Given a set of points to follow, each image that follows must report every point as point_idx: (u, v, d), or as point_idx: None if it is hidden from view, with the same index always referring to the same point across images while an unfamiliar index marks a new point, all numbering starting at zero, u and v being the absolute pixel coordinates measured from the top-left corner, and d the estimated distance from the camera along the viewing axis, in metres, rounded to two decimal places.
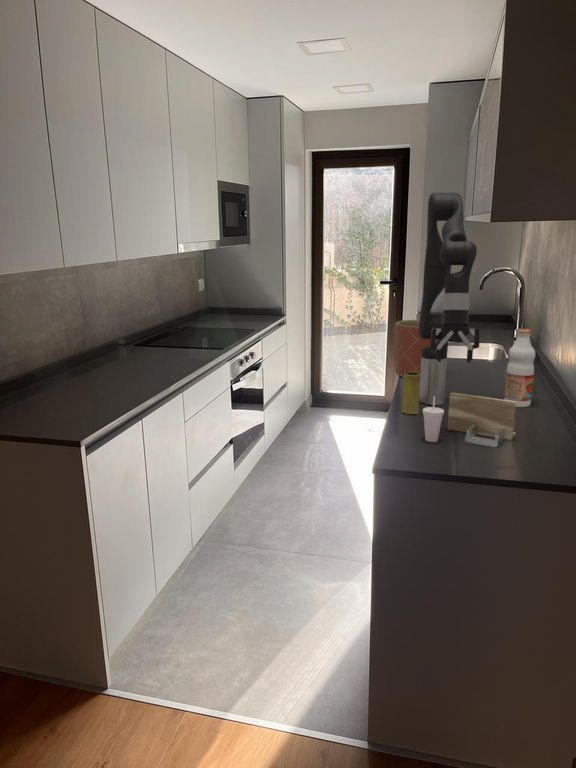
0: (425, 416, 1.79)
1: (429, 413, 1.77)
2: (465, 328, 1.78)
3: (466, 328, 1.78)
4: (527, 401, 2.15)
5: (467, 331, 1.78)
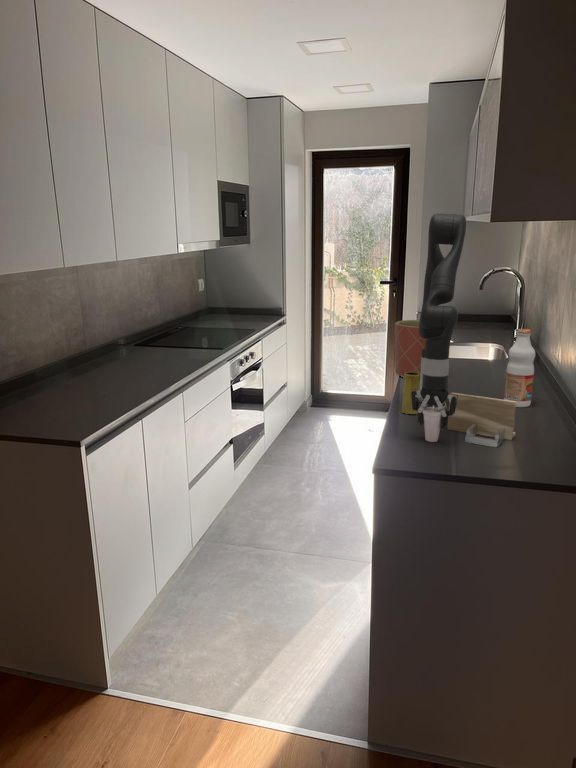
0: (425, 416, 1.79)
1: (429, 413, 1.77)
2: (443, 393, 1.76)
3: (444, 393, 1.76)
4: (527, 401, 2.15)
5: (444, 397, 1.76)
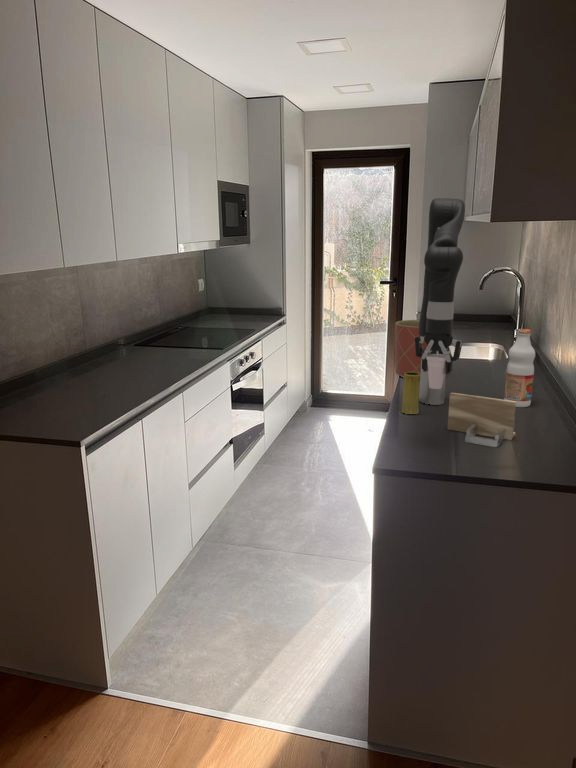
0: (429, 362, 1.75)
1: (433, 358, 1.73)
2: (447, 338, 1.72)
3: (448, 338, 1.72)
4: (527, 401, 2.15)
5: (448, 341, 1.72)
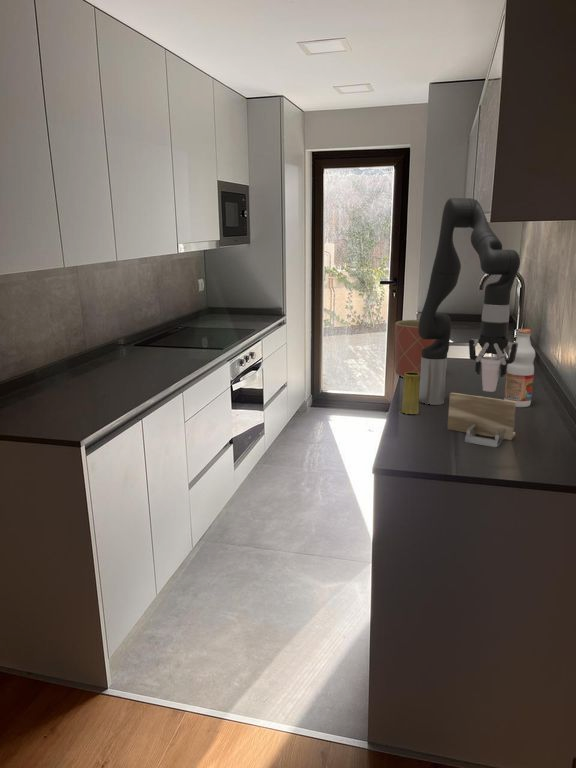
0: (483, 365, 1.75)
1: (488, 361, 1.73)
2: (503, 340, 1.72)
3: (504, 341, 1.72)
4: (527, 401, 2.15)
5: (504, 344, 1.72)
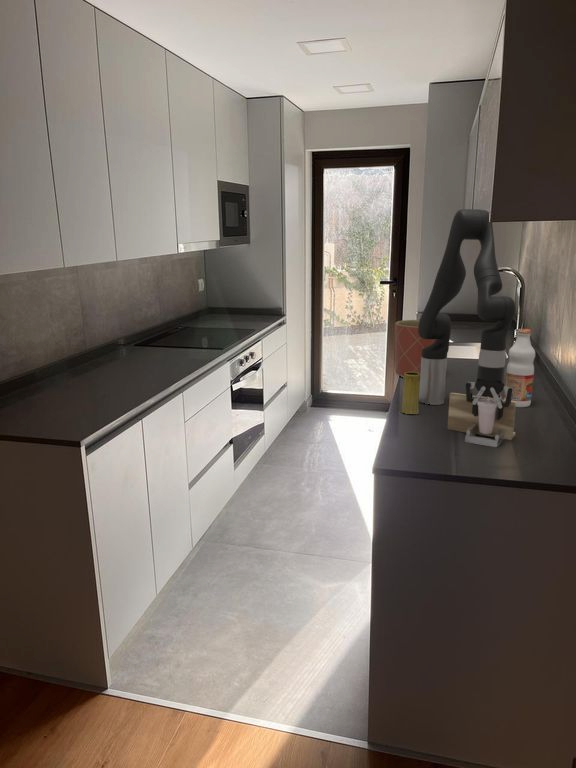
0: (480, 408, 1.78)
1: (485, 405, 1.77)
2: (499, 385, 1.75)
3: (500, 385, 1.75)
4: (527, 401, 2.15)
5: (500, 388, 1.75)
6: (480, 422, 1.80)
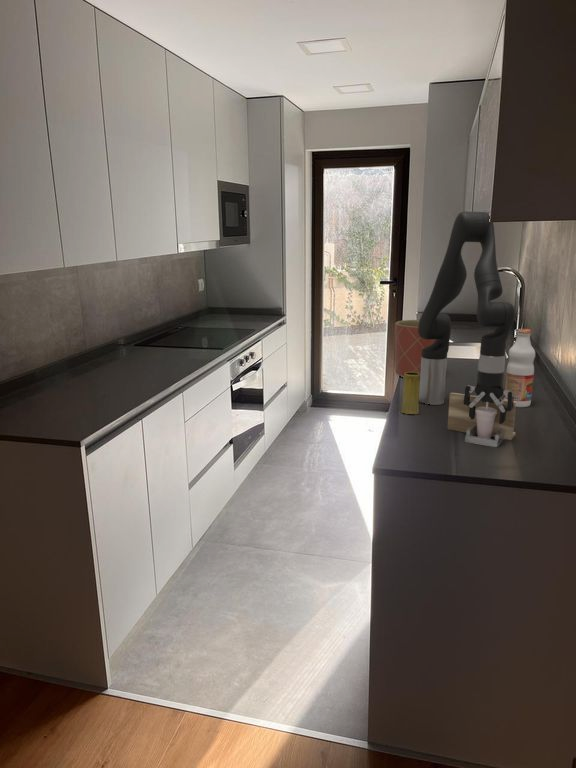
0: (478, 416, 1.79)
1: (483, 413, 1.77)
2: (498, 390, 1.76)
3: (499, 390, 1.75)
4: (527, 401, 2.15)
5: (500, 393, 1.75)
6: (478, 430, 1.81)
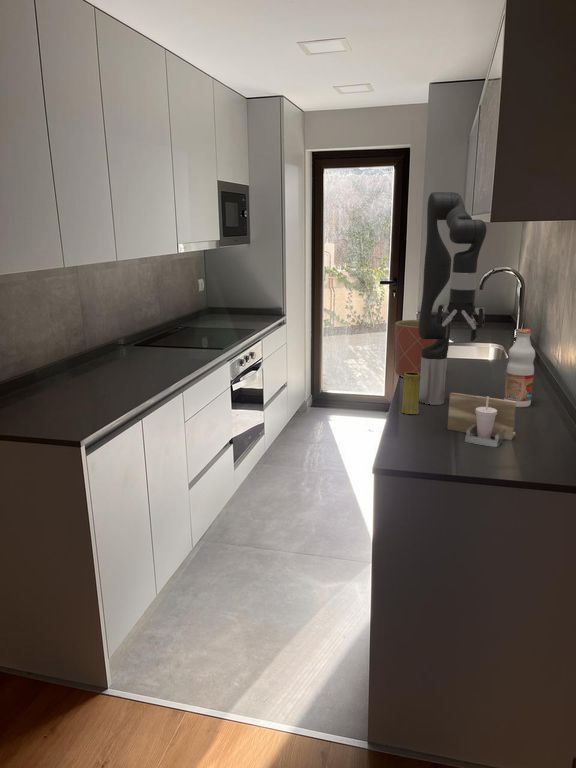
0: (478, 416, 1.79)
1: (483, 413, 1.77)
2: (469, 307, 1.80)
3: (470, 307, 1.80)
4: (527, 401, 2.15)
5: (471, 310, 1.80)
6: (478, 430, 1.81)
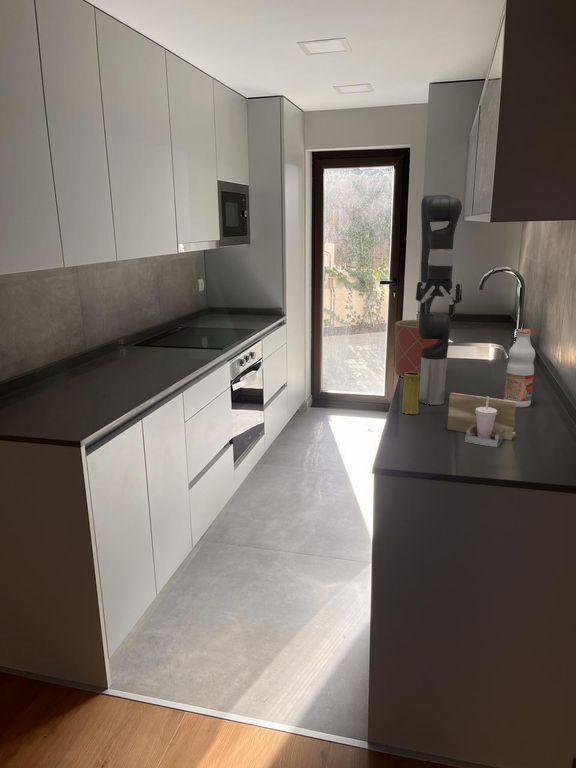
0: (478, 416, 1.79)
1: (483, 413, 1.77)
2: (447, 283, 1.85)
3: (448, 283, 1.85)
4: (527, 401, 2.15)
5: (449, 286, 1.85)
6: (478, 430, 1.81)
